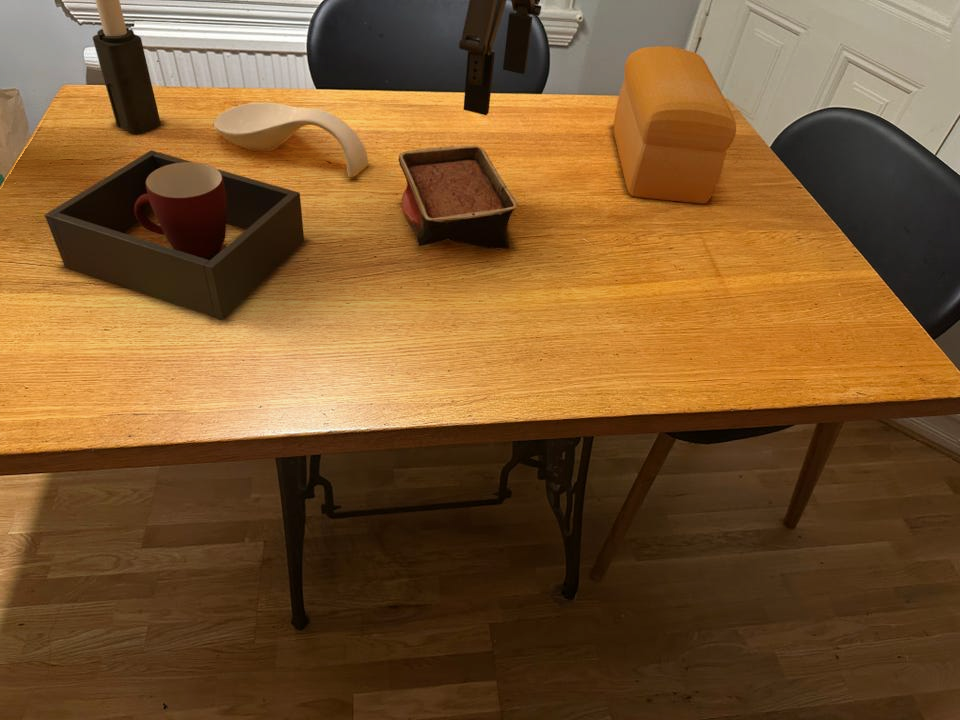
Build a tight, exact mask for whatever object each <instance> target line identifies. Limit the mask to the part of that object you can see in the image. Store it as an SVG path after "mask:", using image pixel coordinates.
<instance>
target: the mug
mask: <svg viewBox="0 0 960 720" xmlns="http://www.w3.org/2000/svg"><path fill="white" fill-rule="evenodd" d="M218 169H219V168H216V167H215V166H213V165H210V164H206V163H204V162H198V161H197V162H196V161H191V162H180V163H174V164H169V165H166V166H163V167H160V168H158V169H156V170H155V171H153V172H152V173H151V174H150V175H149V176H148V177H147V179H146V189H147V194H143V195H141V196H140V197H139V198H138V199H137V201H136V203H135V206H134V212H135V216H136V218H137V220H138V222H139V223H138V224H139V225H141V227H143V228H144V229H145V230H147V231H149V232H151V233H153V234H156V235H159V236H160V235H161V236H165V238H166V240H167V242H168V243H169V245H170V246H171V248H172V249H175V250H178V251H181V252H185V253H188V254H191V255H194V256H197V257H200V258H204V259H207V260H209V261H210V260H211V259H212V258H213V257H215V256H216V255H217V254H218V253H219V252H221V250H222V248H223V245H224V242H225V239H226V235H227V223H226V209H227V200H226V191H225V186H224V181H223V177H222V174H221V172H220V171H219V170H220V169H219V170H218ZM146 204H151V207H152V209H153V214H154V216H155V218H156V220H157V222H158V224H157V223H156V222H154V221H152V220H151V219H150V217H149V216H147V215H146V212H145V205H146Z"/></svg>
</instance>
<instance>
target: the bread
mask: <svg viewBox="0 0 960 720" xmlns="http://www.w3.org/2000/svg"><path fill="white" fill-rule="evenodd" d="M623 73H624V74H623V75H624V78H623V79H624V80H623V82H622V85H621V88H620V92H619V95H618V99H617V104H616V107H615V112H614V119H613V135H614V139H615V145H616V148H617V152H618V157H619V161H620V166H621V170H622V174H623V179H624V183H625V187H626V190H627V192H628V193H629V195H630V196H632V197H635V198H643V199H652V200H653V199H654V200H662V201H673V202H683V203H691V204H692V203H693V204H707V203H708V202H709V200H710V199H711V197H712V196H713V194H714V193H715V191H716V188H717V185H718V183H719V180H720V177H721V174H722V170H723V168H724V165H725V160H726V156H727V151H728V150H729V149H730V147H731V146H732V144H733V142H734V141H735V138H736V135H737V134H736V133H737V122H736V119H735V116H734V113H733V111H732V109H731V107H730V106H729V104H728V102H727V100H726V98H725V96H724V94H723V93H722V91H721V89H720V86H719V85H718V84H717V82H716V80H715V78H714V75H713V74H712V72H711V70H710V68H709V67H708V64H707V62H706V61H705V59H704V58H703V57H702V55H700V54H698V53H696V52H694V51H691V50H688V49H684V48H680V47H676V46H671V45H670V46H665V45H659V46H647V47H641V48H639V49H637V50H635V51H634V52H631V54H630V55H629V56H628V58H627V59H626V62H625V65H624V71H623Z"/></svg>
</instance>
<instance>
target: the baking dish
mask: <svg viewBox="0 0 960 720" xmlns="http://www.w3.org/2000/svg"><path fill="white" fill-rule="evenodd" d="M397 160H398V162H399V167H400V169H401V171H402V173H403V175H404V178H405V180H406V181H405V182H406V187H405V190H404V191H403V193H402V197H401V210H402V214H403V215H404V216H405V218H406V220H407V222H408V224H409V226H410V228H411V230H412V232H413V234H414V237H415V239H416V242H417V244H418V247H419V248H420V247H424V246H427V245H433V244H437V243H440V242H444V241H450V242H455V243H460V244H463V245H469V246H474V247H478V248H483V249H510V243H509V235H508V229H509V225H510V224H509V223H510V218H511V216H512V214H513V213H514V211H515V209H516V208H517V207H518V206H519V205H518V202H517V200H516V198H515V197H514V195H513V194H512V193H511V191H510V190H509V189H508V187H507V185H506V183H505V182H504V180H503V179H502V178H501V176H500V174H499V172H498V170H497V168H496V167H495V166H494V164H493V162H492V160H491V159H490V157H489V155H488V154H487V152H486V151H485V149H484V148H483V147H481V146H479V145H456V146H455V145H451V146H439V147H427V148H420V149H413V150H412V149H411V150H407V151H403V152H402V153H399V155H398V159H397Z"/></svg>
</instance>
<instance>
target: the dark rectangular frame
mask: <svg viewBox="0 0 960 720" xmlns="http://www.w3.org/2000/svg"><path fill="white" fill-rule="evenodd" d="M180 162H192V161H191V160H187V159H184V158H180V157H177V156H173V155H170V154H166V153H162V152H159V151H156V150H151V149H150V150H149V151H147V152H146V153H144V154H142V155H141V156H139V157H137V158H136V159H134V160H133V161H130V162H129V163H127V164H126V165H124V166H122V167H121V168H119V169H117V170H115V171H114V172H113V173H111V174H109V175H107V176H105V177H104V178H103V179H101V180H99V181H98V182H96V183H94V184H92V185H90V186H89V187H88V188H86V189H84V190H82V191H81V192H79V193H77V194H76V195H74V196H73V197H71V198H70V199H68V200H66V201H65V202H63V203H61V204H60V205H58V206H56V207H54V208H53V209H51V210H49V211H48V212H46V213H44V217H45V220H46V223H47V225H48V228H49V231H50V233H51V235H52V236H51V237H52V238H53V241H54V243H55V246H56V248H57V251H58V254H59V256H60V259H61V261H62V263H63V264H62V265H63V266H64V268H65V269H69V270H72V271H75V272H77V273H81V274H84V275H85V276H86V275H87V276H90V277H92V278H96V279H99V280H101V281H105V282H107V283H111V284H114V285H116V286H120V287H122V288H126V289H128V290H132V291H134V292H138V293H141V294H143V295H147V296H149V297H151V298H152V297H153V298H156V299H159V300H162V301H165V302H167V303H170V304H174V305H176V306H179V307H183V308H185V309H189V310H192V311H195V312H197V313H200V314H204V315H207V316H209V317H212V318H216V319H219V320H222V321H224V320H225V319H226V318H227V317H228V316H229V315H230V314H231V313H233V311H235V309H237V307H239V305H241V304H242V303H243V302H244V301H245V300H246V299H247V298H248V297H249V296H251V294H252V293H253V292H254V291H255V290H256V289H257V288H259V286H260V285H261V284H262V283H263V282H265V281H266V280H267V279H268V278H269V277H270V276H271V275H272V274H273V273H274V272H275V271H276V270H277V269H278V268H279V267H280V266H281V265H282V264H283V263H284V262H285V261H287V259H289V257H290V256H292V255H293V254H294V253H295V252H296V251H297V250H298V249H299V248H300V247H301V246H302V245H303V244H304V243H305V234H304V223H303V212H302V201H301V193H300V192H299V191H297V190H292V189H288V188H286V187H281V186H278V185H275V184H271V183H267V182H265V181H260V180H256V179H254V178H251V177H246V176H243V175H239V174H236V173H232V172H228V171H226V170H222V169H219V168H217V169H218V170H219V171H220V172H221V174H222V177H223V181H224V186H225V191H226V200H227V209H226V224H228V225H230V226H231V225H232V226H234V227H237V228H241V229H245V230H244V231H243V232H242V233H240V234H239V235H238V236H237V237H235V239H234V240H232V241H231V242H230V243H229V244H228V245H227V246H225V247H224V248H222V249H221V250H220V252H219V253H218V254H217V255H216V256H215V257H213V258H212V259H211V260H210V261H209V260H207V259H204V258H200V257H197V256H194V255H191V254H188V253H185V252H181V251H178V250H175V249H174V248H173V247H168V246H165V245H162V244H160V243H156V242H153V241H150V240H146V239H143V238H141V237H137V236H134V235H130V234H127V231H129V230H131V229H132V228H133V227H135V226H137V225H138V224H140V223H139V222H138V220H137V218H136V216H135V212H134V206H135V203H136V201H137V199H138V198H139V197H140V196H141V195H143V194H147V189H146V179H147V177H148V176H149V175H150V174H151V173H152V172H153V171H155V170H156V169H158V168H160V167H163V166H166V165H169V164H174V163H180ZM145 212H146V215H147V216H148V217H149V216H150V215H152V214H154V212H153V209H152V207H151V204H146V205H145Z"/></svg>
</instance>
